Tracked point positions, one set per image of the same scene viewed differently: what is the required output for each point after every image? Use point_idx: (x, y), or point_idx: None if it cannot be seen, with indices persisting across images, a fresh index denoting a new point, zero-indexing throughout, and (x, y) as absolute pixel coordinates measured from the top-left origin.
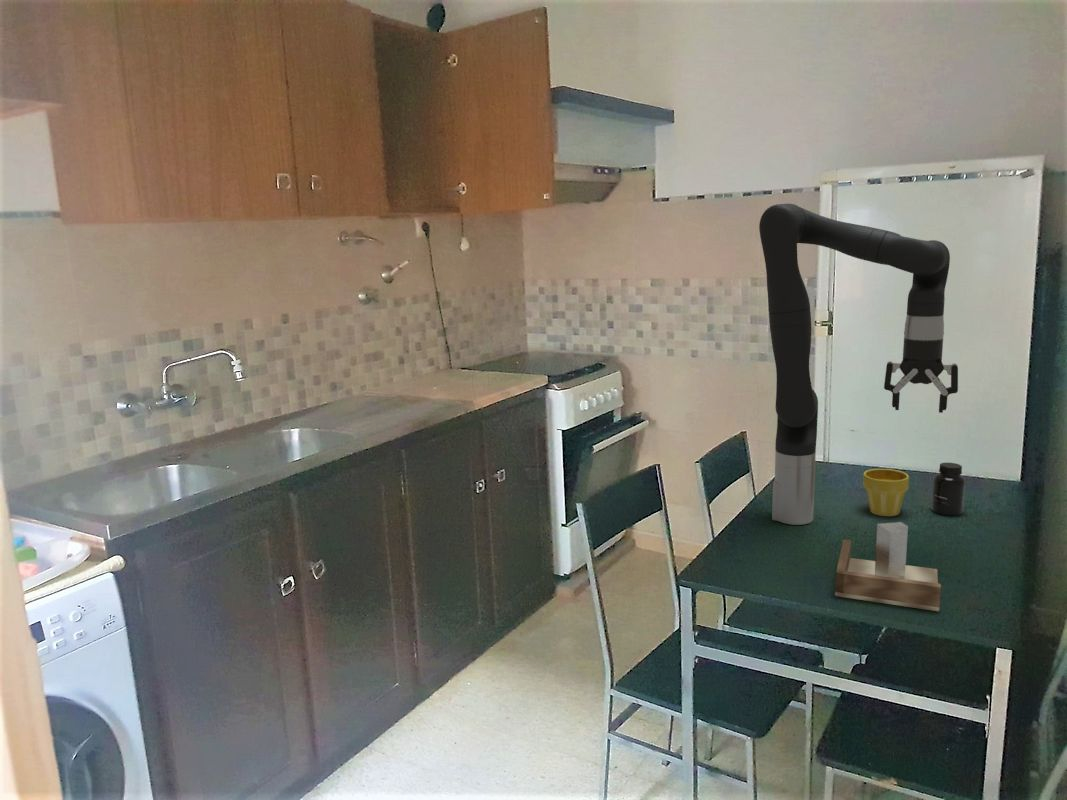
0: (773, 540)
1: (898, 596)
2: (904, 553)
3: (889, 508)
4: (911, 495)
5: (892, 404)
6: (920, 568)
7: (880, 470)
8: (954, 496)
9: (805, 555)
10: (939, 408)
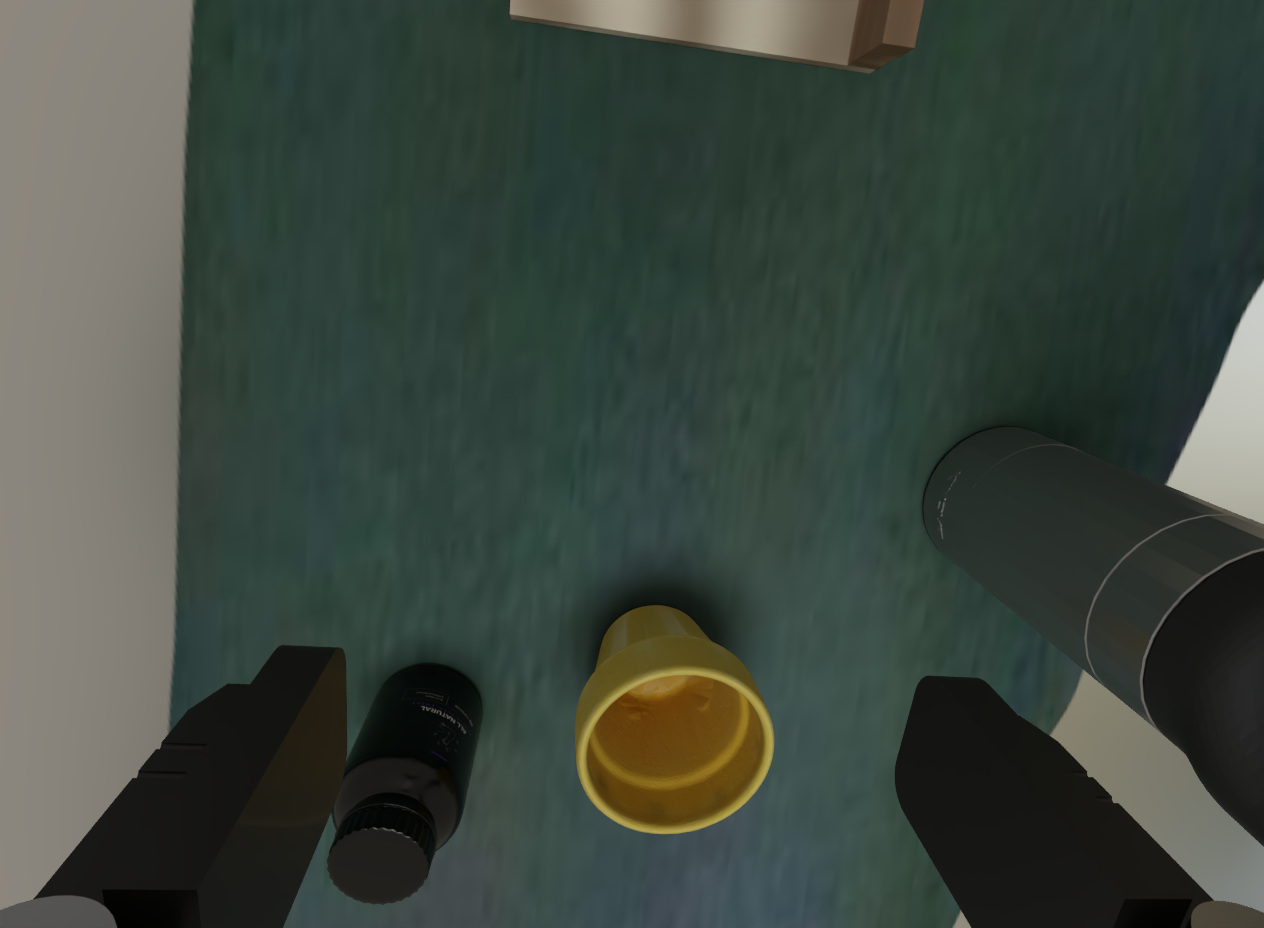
0: (1103, 241)
1: None
2: None
3: (645, 617)
4: (542, 836)
5: (1054, 749)
6: (576, 5)
7: (690, 820)
8: (390, 717)
9: (1006, 98)
10: (316, 680)
